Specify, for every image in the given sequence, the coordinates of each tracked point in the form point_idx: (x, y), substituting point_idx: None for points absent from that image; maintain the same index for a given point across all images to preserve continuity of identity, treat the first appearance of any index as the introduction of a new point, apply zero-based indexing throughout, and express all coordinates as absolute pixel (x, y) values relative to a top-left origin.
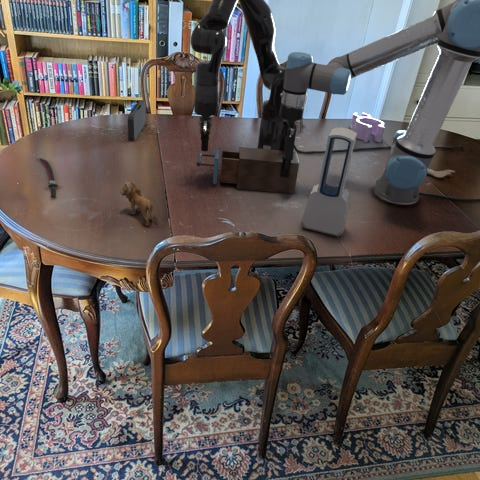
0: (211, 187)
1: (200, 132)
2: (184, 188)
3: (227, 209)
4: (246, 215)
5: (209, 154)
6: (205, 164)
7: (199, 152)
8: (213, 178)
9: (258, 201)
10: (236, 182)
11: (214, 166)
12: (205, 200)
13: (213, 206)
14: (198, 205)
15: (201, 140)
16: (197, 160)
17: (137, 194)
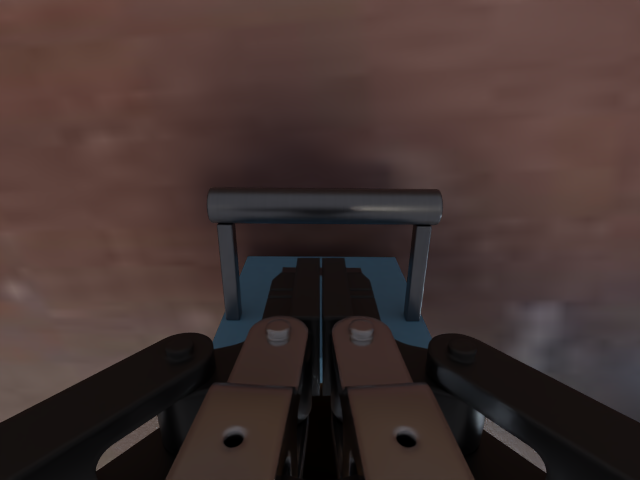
0: (244, 242)
1: (204, 407)
2: (193, 89)
3: (36, 315)
4: (17, 383)
5: (421, 284)
6: (222, 259)
7: (436, 208)
8: (241, 272)
9: (158, 427)
10: None
11: (224, 316)
12: (86, 216)
13: (38, 256)
14: (17, 183)
15: (171, 342)
16: (264, 197)
17: None
